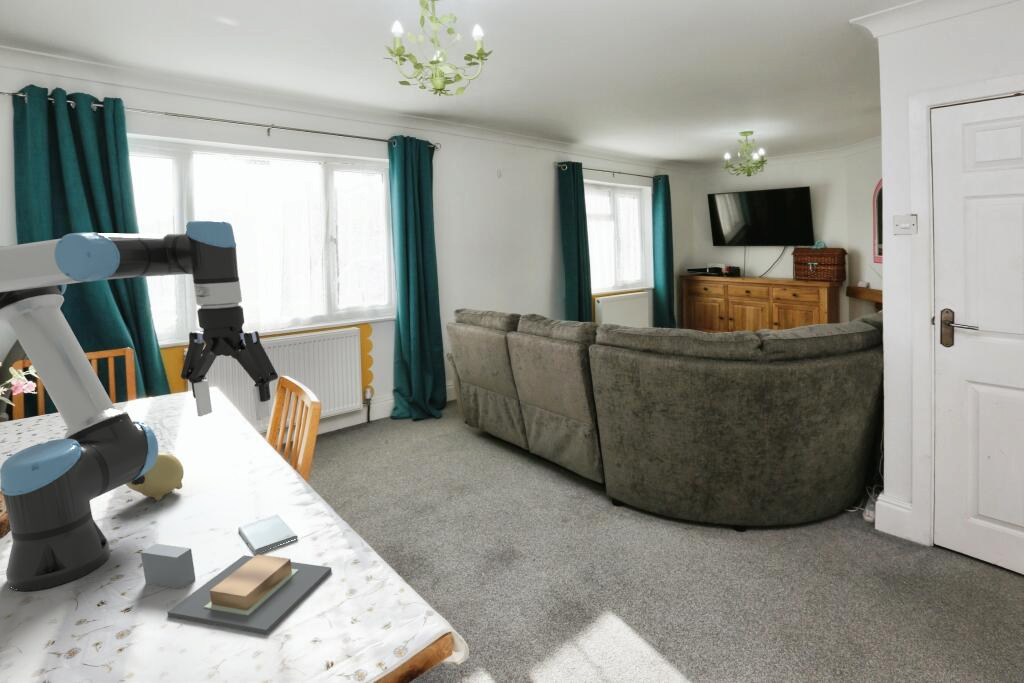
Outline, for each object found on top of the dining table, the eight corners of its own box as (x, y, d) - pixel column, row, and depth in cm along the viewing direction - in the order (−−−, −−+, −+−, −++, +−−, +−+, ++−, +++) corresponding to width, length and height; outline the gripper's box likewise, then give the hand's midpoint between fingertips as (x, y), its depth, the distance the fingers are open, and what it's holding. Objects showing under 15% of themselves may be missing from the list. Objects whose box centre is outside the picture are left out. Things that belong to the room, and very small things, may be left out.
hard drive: (297, 534, 112) (278, 513, 122) (254, 549, 107) (237, 526, 116) (298, 542, 112) (278, 520, 122) (255, 557, 107) (238, 533, 117)
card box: (259, 566, 101) (257, 554, 101) (291, 571, 99) (290, 558, 99) (211, 604, 91) (209, 590, 90) (247, 610, 89) (245, 596, 88)
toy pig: (123, 500, 134) (116, 458, 132) (177, 483, 143) (171, 443, 141) (135, 511, 128) (128, 468, 126) (192, 493, 136) (186, 452, 135)
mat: (167, 616, 90) (166, 610, 89) (244, 559, 106) (243, 554, 106) (266, 634, 84) (266, 628, 84) (331, 571, 100) (331, 566, 100)
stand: (145, 583, 99) (140, 552, 98) (160, 573, 102) (155, 543, 101) (181, 589, 97) (176, 557, 96) (195, 579, 100) (191, 548, 99)
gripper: (149, 308, 103) (165, 418, 106) (261, 307, 96) (275, 425, 99) (183, 303, 110) (197, 407, 114) (290, 303, 103) (301, 413, 107)
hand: (233, 416), depth 107 cm, fingers open, 13 cm apart
